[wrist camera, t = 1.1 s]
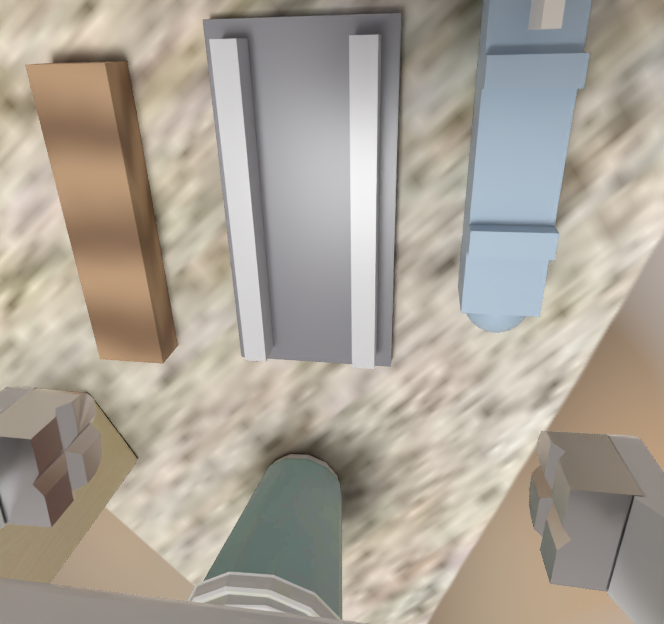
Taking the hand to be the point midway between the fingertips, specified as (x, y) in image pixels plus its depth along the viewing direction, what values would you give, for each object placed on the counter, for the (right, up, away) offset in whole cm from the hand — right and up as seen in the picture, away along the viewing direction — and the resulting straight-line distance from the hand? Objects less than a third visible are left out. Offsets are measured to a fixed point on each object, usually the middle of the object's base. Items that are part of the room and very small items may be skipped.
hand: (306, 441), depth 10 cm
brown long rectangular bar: (-14, +9, +28) cm, 33 cm away
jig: (-1, +9, +25) cm, 27 cm away
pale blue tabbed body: (+11, +11, +22) cm, 27 cm away
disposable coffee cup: (-2, -12, +37) cm, 39 cm away
